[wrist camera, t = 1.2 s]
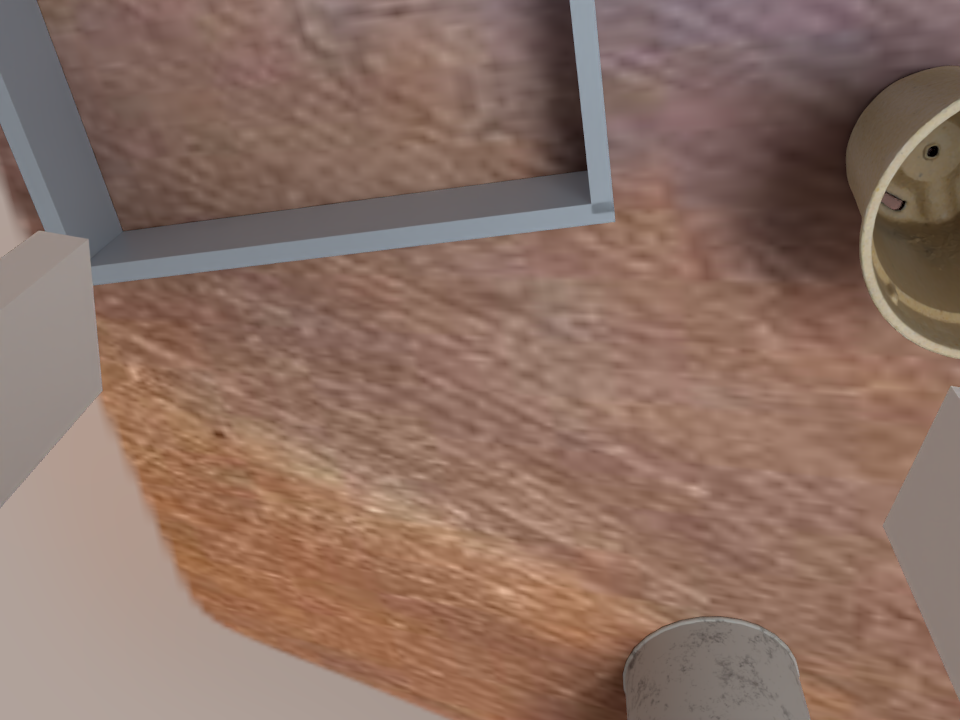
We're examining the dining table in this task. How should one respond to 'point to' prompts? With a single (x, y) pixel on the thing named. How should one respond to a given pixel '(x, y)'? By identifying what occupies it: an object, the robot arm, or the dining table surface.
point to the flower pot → (912, 205)
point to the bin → (281, 234)
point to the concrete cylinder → (713, 674)
